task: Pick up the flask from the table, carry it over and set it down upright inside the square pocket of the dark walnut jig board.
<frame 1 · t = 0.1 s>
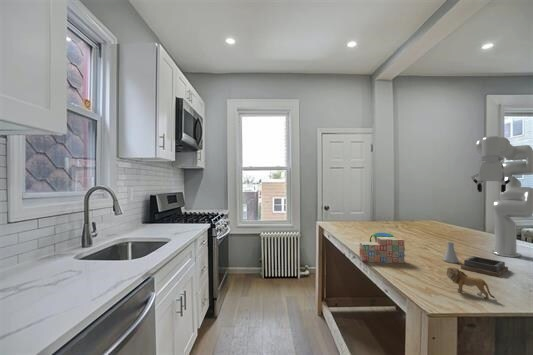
hand: (491, 192, 145), 37 cm above the worktop, tool pointing down, fingers open, 9 cm apart
snack cup: (383, 251, 167), on the worktop
stack of blocks: (381, 261, 146), on the worktop
flask: (450, 261, 145), on the worktop
jig board: (484, 269, 132), on the worktop
lion figurine: (468, 294, 104), on the worktop
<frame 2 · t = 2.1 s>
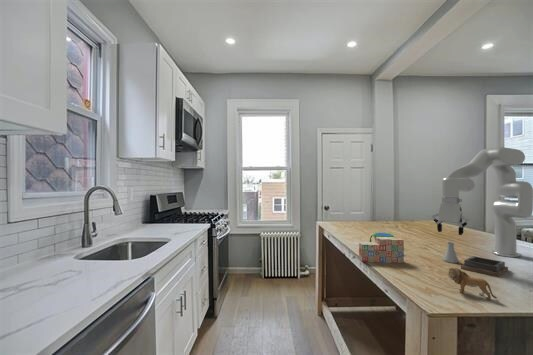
hand: (449, 233, 145), 15 cm above the worktop, tool pointing down, fingers open, 9 cm apart
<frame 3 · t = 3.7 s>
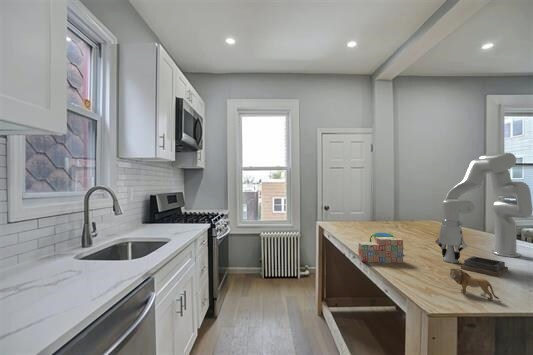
hand: (450, 257, 145), 2 cm above the worktop, tool pointing down, fingers closed on flask, 5 cm apart
flask: (450, 261, 145), on the worktop, touching gripper
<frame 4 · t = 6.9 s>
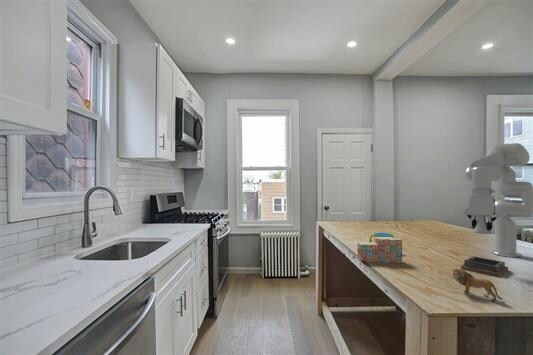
hand: (481, 229, 133), 19 cm above the worktop, tool pointing down, fingers closed on flask, 5 cm apart
flask: (481, 233, 133), point 17 cm above the worktop, touching gripper
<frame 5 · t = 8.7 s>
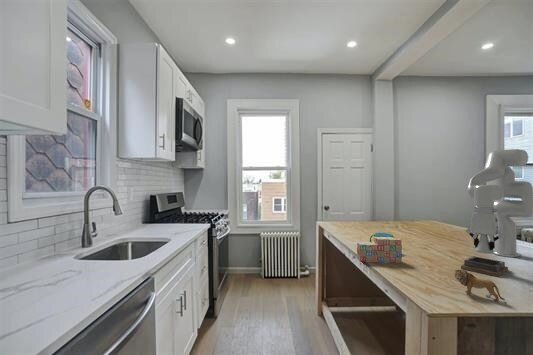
hand: (484, 248, 132), 10 cm above the worktop, tool pointing down, fingers closed on flask, 5 cm apart
flask: (484, 252, 132), point 8 cm above the worktop, touching gripper
when the fingers open (6 cm above the worktop, at t = 10.0 s): flask drops 2 cm, resting on jig board.
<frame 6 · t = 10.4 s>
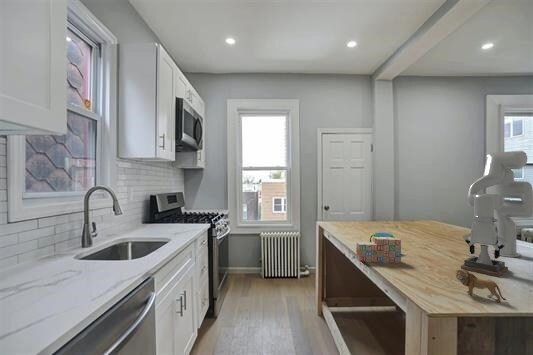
hand: (484, 255, 132), 6 cm above the worktop, tool pointing down, fingers open, 9 cm apart
flask: (484, 266, 132), point 1 cm above the worktop, touching jig board
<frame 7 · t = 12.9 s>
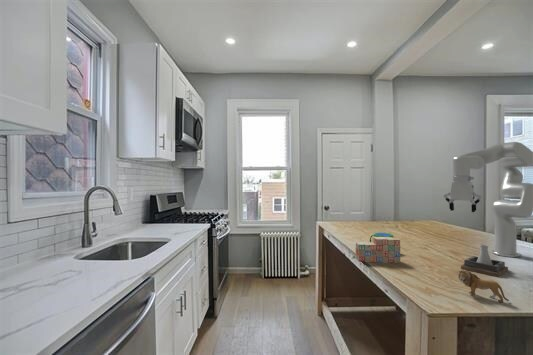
hand: (462, 211, 147), 26 cm above the worktop, tool pointing down, fingers open, 9 cm apart
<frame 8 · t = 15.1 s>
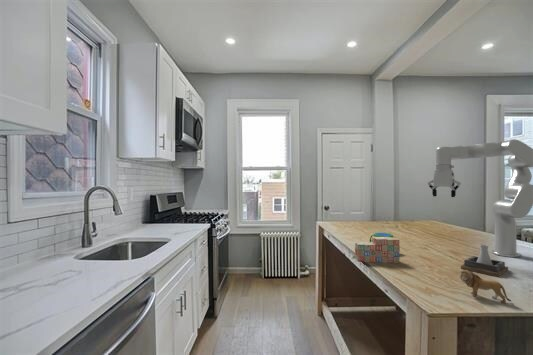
hand: (443, 196, 162), 33 cm above the worktop, tool pointing down, fingers open, 9 cm apart
at the end: flask 0.1 cm off-centre on the jig board, point 1.3 cm above the jig board's base; flask tilted 0°; the gripper is holding nothing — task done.
